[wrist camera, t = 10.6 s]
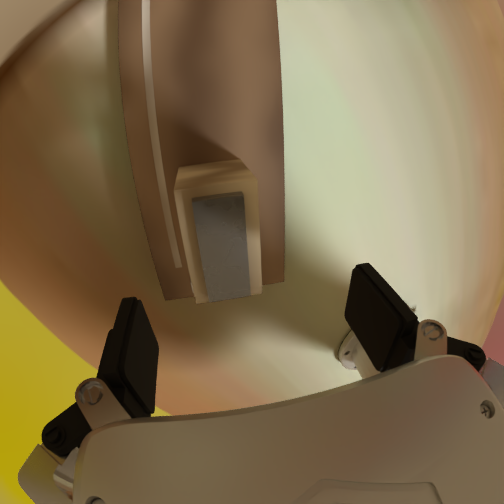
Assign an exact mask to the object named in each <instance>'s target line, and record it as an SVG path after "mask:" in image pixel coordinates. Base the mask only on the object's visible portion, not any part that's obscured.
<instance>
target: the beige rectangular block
mask: <svg viewBox="0 0 504 504" xmlns="http://www.w3.org/2000/svg"><path fill="white" fill-rule="evenodd" d="M174 196H175V202H176V207H177V213H178V219H179V224H180V229H181V235H182V240H183V245H184V250H185V255H186V259H187V264H188V269H189V273H190V278H191V282H192V287H193V291H194V295H195V300H196V304H200V303H207V302H215V301H222V300H228V299H234V298H240V297H246V296H251V295H256V294H262V272H261V247H260V223H259V200H258V179H257V178H256V177H255V176H254V175H253V173H252V172H251V171H250V170H249V169H248V168H247V166H246V165H245V164H244V163H243V162H242V160H241V159H238V160H229V161H220V162H212V163H204V164H197V165H190V166H184V167H179V168H178V173H177V177H176V182H175V187H174Z"/></svg>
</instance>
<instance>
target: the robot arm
mask: <svg viewBox="0 0 504 504" xmlns="http://www.w3.org/2000/svg"><path fill="white" fill-rule="evenodd" d="M345 319H346V321H347V322H348V324H349V326H350V327H351V329H352V331H351V332H350V333H349V334H348V335H347V337H346V338H345V339H344V341H343V343H342V345H341V347H340V350H339V360H340V362H341V363H342V365H343V366H344V367H345V368H347V369H352V370H358V371H359V373H360V375H361V377H362V380H359V381H356V382H353V383H350V384H346V385H343V386H340V387H336V388H333V389H329V390H326V391H322V392H318V393H315V394H311V395H307V396H303V397H298V398H294V399H290V400H285V401H280V402H275V403H270V404H265V405H259V406H254V407H248V408H241V409H234V410H227V411H219V412H210V413H200V414H188V415H175V416H158V417H151V414H153V413H154V411H155V393H156V378H157V365H158V354H159V346H158V342H157V340H156V337H155V335H154V332H153V330H152V327H151V325H150V322H149V320H148V317H147V315H146V312H145V310H144V307H143V304H142V302H141V300H137V298H136V297H129V298H123V299H122V301H121V304H120V307H119V310H118V314H117V317H116V320H115V323H114V327H113V329H111V330H110V331H109V333H108V336H107V339H106V343H105V346H104V350H103V354H102V357H101V361H100V365H99V369H98V373H97V377H96V378H89V379H86V380H84V381H83V382H82V383H81V384H79V386H78V387H77V389H76V392H75V399H76V402H75V403H74V404H73V405H71V406H70V407H69V408H68V409H66V410H65V411H64V412H62V413H61V414H60V415H58V416H57V417H56V418H54V419H53V420H52V421H50V422H49V423H48V424H47V425H46V426H45V427H44V429H43V431H42V442H43V443H42V444H41V445H39V444H38V445H37V446H36V447H35V449H34V450H33V452H32V453H31V454H30V456H29V457H28V459H27V460H26V462H25V463H24V465H23V466H22V468H21V469H20V471H19V473H18V481H19V484H20V486H21V488H22V489H23V490H24V491H25V492H26V494H27V495H28V496H29V497H30V498H31V499H32V500H33V501H34V502H35V504H504V366H503V365H501V364H499V363H498V362H496V361H494V360H492V359H491V358H488V359H486V356H485V354H484V351H483V350H482V349H481V348H480V347H479V346H477V345H475V344H472V343H468V342H465V341H461V340H458V339H455V338H451V337H448V336H447V332H446V329H445V327H444V326H443V325H442V324H441V323H439V322H438V321H435V320H430V319H427V320H423V321H421V322H420V323H419V321H418V320H417V319H418V317H417V316H416V315H415V314H414V312H413V310H412V309H411V308H410V307H409V306H408V305H407V304H406V303H405V302H404V301H403V300H402V299H401V297H400V296H399V295H398V294H397V293H396V292H395V291H394V290H393V288H392V287H391V286H390V285H389V284H388V283H387V282H386V281H385V280H384V278H383V277H382V276H381V275H380V274H379V273H378V272H377V271H376V270H375V269H374V268H373V267H372V266H371V265H370V264H369V263H363V264H358V265H356V267H355V268H354V269H353V270H352V276H351V281H350V287H349V293H348V298H347V303H346V308H345Z"/></svg>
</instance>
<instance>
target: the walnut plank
mask: <svg viewBox="0 0 504 504" xmlns="http://www.w3.org/2000/svg"><path fill="white" fill-rule="evenodd" d="M118 43H119V66H120V80H121V92H122V102H123V111H124V119H125V127H126V134H127V141H128V147H129V153H130V159H131V165H132V171H133V176H134V181H135V186H136V191H137V196H138V200H139V205H140V210H141V214H142V218H143V222H144V227H145V231H146V235H147V238H148V242H149V246H150V250H151V254H152V257H153V261H154V264H155V268H156V271H157V275H158V278H159V281H160V285H161V288H162V291H163V294H164V298H165V300H172V299H179V298H186V297H193V296H195V295H194V291H193V287H192V282H191V278H190V273H189V269H188V264H187V259H186V255H185V250H184V245H183V240H182V235H181V229H180V224H179V219H178V213H177V207H176V202H175V196H174V187H175V182H176V177H177V173H178V168H179V167H184V166H190V165H197V164H204V163H212V162H220V161H229V160H238V159H241V160H242V162H243V163H244V164H245V165H246V166H247V168H248V169H249V170H250V171H251V172H252V173H253V175H254V176H255V177H256V178H257V179H258V200H259V223H260V247H261V272H262V285H267V284H272V283H278V282H283V281H284V246H285V186H284V133H283V104H282V81H281V62H280V45H279V30H278V17H277V5H276V0H119V8H118Z"/></svg>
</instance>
